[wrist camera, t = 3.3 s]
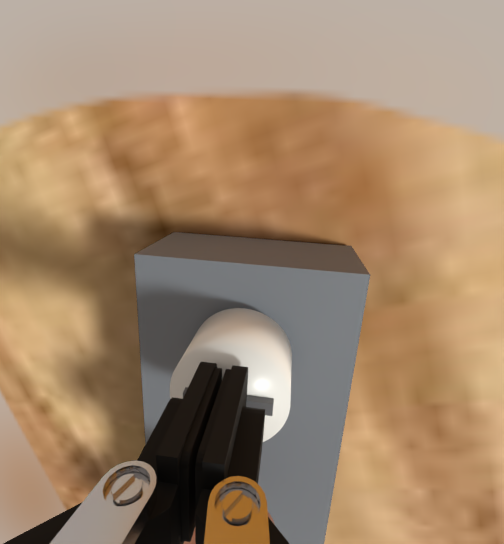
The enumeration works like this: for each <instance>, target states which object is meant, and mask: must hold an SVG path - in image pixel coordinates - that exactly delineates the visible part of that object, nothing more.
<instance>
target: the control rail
mask: <svg viewBox="0 0 504 544" xmlns="http://www.w3.org/2000/svg"><path fill="white" fill-rule="evenodd" d="M134 258H135V275H136V292H137V308H138V325H139V342H140V358H141V375H142V392H143V408H144V425H145V442H146V443H147V441H148V439H149V438H150V436H151V434H152V432H153V430H154V428H155V426H156V424H157V423H158V421H159V419H160V417H161V415H162V413H163V411H164V409H165V407H166V406H167V404H168V402H169V400H170V399H171V398H170V381H171V377H172V374H173V372H174V370H175V368H176V367H177V365H178V363H179V361H180V360H181V358H182V356H183V355H184V353H185V351H186V350H187V348H188V346H189V345H190V343H191V341H192V340H193V338H194V336H195V334H196V333H197V331H198V329H199V328H200V326H201V325H202V324H203V322H205V321H206V320H207V319H208V318H209V317H211V316H212V315H214V314H216V313H217V312H220V311H223V310H226V309H232V308H245V309H251V310H255V311H258V312H260V313H263V314H265V315H266V316H268V317H270V318H271V319H272V320H274V321H275V322H276V323H277V324H278V325H279V326H280V327H281V328H282V329H283V331H284V332H285V334H286V335H287V337H288V340H289V342H290V346H291V351H292V367H291V403H290V411H289V415H288V418H287V420H286V422H285V424H284V425H283V427H282V428H281V429H280V431H279V432H277V433H276V434H275V435H274V436H273V437H271V438H270V439H268V440H266V441H264V442H263V444H262V454H261V462H260V471H259V479H258V485H259V486H260V487H261V488H262V490H263V491H264V493H265V496H266V500H267V510H268V512H269V513H270V515H271V517H272V519H273V521H274V524H275V526H276V527H277V528H278V530H279V531H280V532H281V533H282V535H283V536H284V537H285V539H286V540H287V541H288V542H289V544H324V541H325V535H326V529H327V523H328V517H329V511H330V506H331V500H332V494H333V488H334V482H335V476H336V471H337V465H338V459H339V453H340V447H341V442H342V436H343V430H344V424H345V418H346V412H347V407H348V401H349V395H350V389H351V383H352V377H353V372H354V366H355V360H356V354H357V348H358V343H359V337H360V331H361V325H362V319H363V313H364V308H365V302H366V296H367V290H368V284H369V278H370V274H369V272H368V271H367V269H366V268H365V266H364V265H363V263H362V262H361V260H360V259H359V257H358V256H357V254H356V252H355V251H354V249H353V248H352V246H344V245H332V244H319V243H306V242H294V241H281V240H268V239H256V238H243V237H230V236H218V235H205V234H193V233H180V232H173V233H171V234H170V235H168V236H166V237H164V238H162V239H161V240H159V241H157V242H155V243H153V244H152V245H150V246H148V247H146V248H144V249H143V250H141V251H139V252H137V253H135V254H134Z"/></svg>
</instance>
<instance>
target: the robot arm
mask: <svg viewBox="0 0 504 544" xmlns="http://www.w3.org/2000/svg"><path fill="white" fill-rule="evenodd" d="M247 385H248V367H243V366H235V365H233V366H232V368H231V369H226V370H225V373H224V376H223V379H222V368H217V364H216V363H209V362H200V364H199V366H198V368H197V370H196V372H195V374H194V376H193V378H192V380H191V383H190V385H189V387H188V389H187V391H186V393H185V395H184V397H183V399H181V398H173V397H172V398H171V399H170V400H169V402H168V404H167V406H166V407H165V409H164V411H163V413H162V415H161V417H160V419H159V421H158V423H157V424H156V426H155V428H154V430H153V432H152V434H151V436H150V438H149V439H148V441H147V443H146V445H145V447H144V449H143V451H142V453H141V455H140V456H139V458H138V460H137V461H136V460H135V461H127V462H124V463H121V464H118V465H117V466H115V467H113V468H112V469H110V470H109V471H108V472H107V473H106V474H105V475H104V476H103V477H102V478H101V480H100V481H99V482H98V483H97V485H96V486H95V487H94V488H93V490H92V491H91V492H90V493H89V495H88V496H87V497H86V499H85V500H84V501H83V502H82V503H80V504H78V505H76V506H74V507H73V508H71V509H69V510H67V511H65V512H63V513H61V514H59V515H57V516H55V517H53V518H51V519H49V520H48V521H46V522H44V523H42V524H40V525H38V526H36V527H34V528H32V529H30V530H28V531H26V532H24V533H23V534H21V535H19V536H17V537H15V538H13V539H11V540H9V541H7V542H6V543H4V544H184V541H186V542H190V541H191V539H192V536H193V532H194V529H195V542H196V544H289V542H288V541H287V540H286V539H285V537H284V536H283V535H282V533H281V532H280V531H279V530H278V528H277V527H276V526H275V525H274V523H273V522H272V521H271V520H270V518H269V517H268V510H267V500H266V496H265V493H264V491H263V490H262V488H261V487H260V486H259V485H258V479H259V471H260V462H261V454H262V444H263V434H264V422H265V409H258V408H251V407H246V401H247Z"/></svg>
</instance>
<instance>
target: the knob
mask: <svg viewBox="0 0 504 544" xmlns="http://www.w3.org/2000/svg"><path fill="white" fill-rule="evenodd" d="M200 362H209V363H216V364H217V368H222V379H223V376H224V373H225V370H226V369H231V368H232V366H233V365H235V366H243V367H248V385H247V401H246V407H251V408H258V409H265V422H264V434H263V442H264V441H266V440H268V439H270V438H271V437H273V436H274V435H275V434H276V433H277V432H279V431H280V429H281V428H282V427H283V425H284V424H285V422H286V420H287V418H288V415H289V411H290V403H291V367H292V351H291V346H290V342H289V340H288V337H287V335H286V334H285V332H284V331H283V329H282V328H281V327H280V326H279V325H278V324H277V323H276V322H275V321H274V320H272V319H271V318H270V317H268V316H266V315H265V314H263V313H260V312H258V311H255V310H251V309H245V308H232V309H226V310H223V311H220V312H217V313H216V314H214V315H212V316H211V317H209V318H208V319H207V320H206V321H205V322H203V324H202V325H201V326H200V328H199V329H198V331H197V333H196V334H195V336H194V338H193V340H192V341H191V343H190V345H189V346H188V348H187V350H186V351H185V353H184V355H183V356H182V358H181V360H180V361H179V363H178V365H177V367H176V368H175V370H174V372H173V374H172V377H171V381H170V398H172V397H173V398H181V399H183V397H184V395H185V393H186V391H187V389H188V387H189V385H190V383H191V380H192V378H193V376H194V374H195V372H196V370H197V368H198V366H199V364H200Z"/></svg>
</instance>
